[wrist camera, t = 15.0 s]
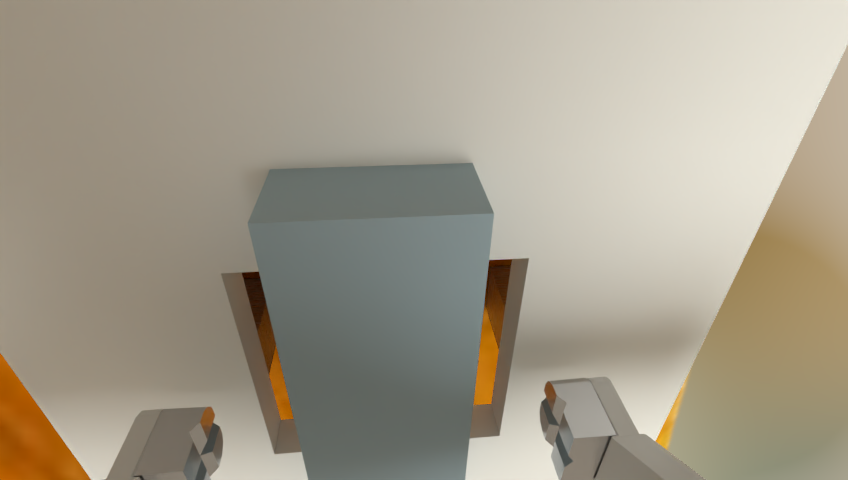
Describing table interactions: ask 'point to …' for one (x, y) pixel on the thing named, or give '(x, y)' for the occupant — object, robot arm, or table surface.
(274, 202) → the peg
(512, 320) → the cutout shelf
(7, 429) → the table surface
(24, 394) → the table surface
